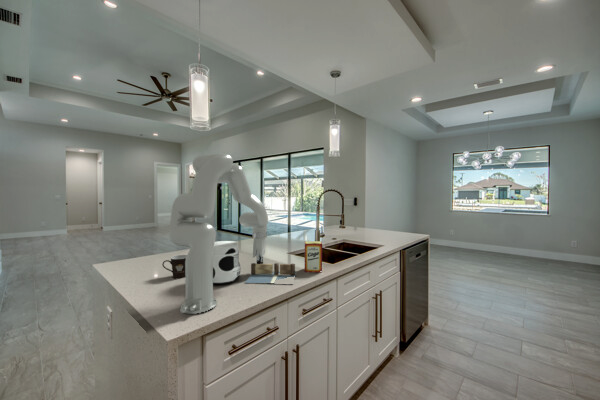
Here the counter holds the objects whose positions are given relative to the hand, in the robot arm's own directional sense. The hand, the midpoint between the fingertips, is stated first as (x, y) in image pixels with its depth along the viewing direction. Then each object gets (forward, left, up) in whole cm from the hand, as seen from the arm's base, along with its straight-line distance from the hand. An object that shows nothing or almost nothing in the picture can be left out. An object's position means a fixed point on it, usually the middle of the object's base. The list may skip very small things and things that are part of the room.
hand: (259, 269), depth 132 cm
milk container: (-12, +16, -3) cm, 20 cm away
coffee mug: (-8, +41, -3) cm, 42 cm away
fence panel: (-3, -2, -2) cm, 4 cm away
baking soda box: (+8, -28, -3) cm, 29 cm away
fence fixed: (-2, -14, -2) cm, 14 cm away
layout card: (-6, -8, -2) cm, 10 cm away
